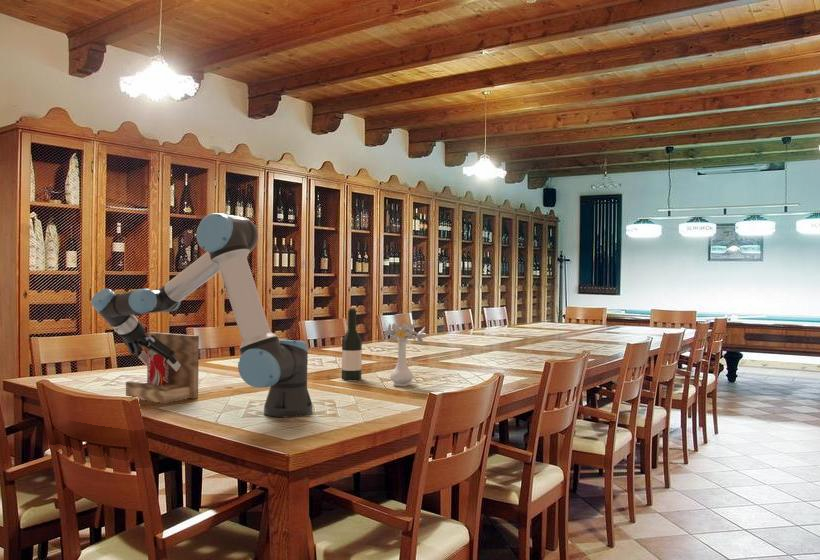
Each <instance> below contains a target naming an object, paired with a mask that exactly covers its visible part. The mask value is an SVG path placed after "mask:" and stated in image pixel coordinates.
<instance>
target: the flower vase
mask: <svg viewBox="0 0 820 560" xmlns="http://www.w3.org/2000/svg"><path fill="white" fill-rule="evenodd" d="M414 329H415V324H406V323H405V322H403V323H402V325H401V326H398V325H396V323H392V324H391V323H389V324H388V326H387V329H386V330H385V331H384V332H383V337H381V340H384V339H385V338H386V337H388V336H389V341H390V342H392V341H394V339H396V340H397V350H398V352H397V362H396V365H395V368H394V369H393V370H392V371H391V372H390V374H389V375H390V376H389V378H390V380H391V382H393V385H394V386H396V387H407V386H409V385H410V383H411V382H412V381H413V380H414V374H413V372H412V371H411V369H409V367H408V364H407V355H406V353H407V352H406V350H407V342H408V339H409V340H411V339H413V340H414V341H416V340H417V344H419V343H420V345H421V346H423V344H424V338H426V337H427V333H425V331H426V326H424V327H423V328H422V329H421V330H419V332H417V331H415V330H414ZM415 336H416V337H415Z"/></svg>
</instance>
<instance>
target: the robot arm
mask: <svg viewBox="0 0 820 560" xmlns="http://www.w3.org/2000/svg"><path fill="white" fill-rule="evenodd" d="M258 231H259V230H258V229H257V226H256V225H255V223H254V222H253V221H252V220H250V219H249V218H247V217H245V216H237V215H232V214H227V213H223V212H220V213H218V212H215V213H209V214H208V215H206V216H204V217H203V218H202V219H201V221H200V222H199V224H198V226H197V229H196V235H195V236H196V241H197V244H198V246H199V247H200V249H202V250H204V251H205V253H204V254H202V255H201V256H200V257H198V258H197V259H196V260H195V261H193V262H192V263H190V265H188V266H187V267H186V268H184V269H183V270H181V271H180V272H179V273H178V274H176V276H174V277H173V278H171V279H170V280H169V281H168V282H166V283H165V284H164V285H163V286H161V287H160V288H158V289H150V288H138V289H135V290H131V291H127V292H121V293H117V294H116V293H115V292H114V291H113V290H112V289H110V288H102V289H100V290H99V291H97V292H96V293H95V294H94V295H93V296H92V298H91V300H90V303H91V306H92V308H94V310H95V311H96V312H97V314H99V315H100V316H101V317H102V318H103V319H104V320H105V322H107V324H108V325H110V327H111V328H113V330H114V332H115V333H117V334H118V335H119V336H120V337H121V338H122V340H123V341H124V343H125V344H126V345H125V346H127V349H128V352H129V353H130V354H131V356H132V355H135V357H138V358H139V360H141V362H142V363H143V364H144V365H145V366H146V367H147V361H148V355H147V352H146V351H145V350H144V349H143V348H145V349H146V350H150V349H151V350H152V351H154V352H156V353H157V354H159V355H161V356H162V357H164V358H166V359H165V361H167V363H168V364H169V365H170V366H171V367H172V368H173V369H174V370H175V371H178V369H179V368H180V367H181V364H180V363H179V362H178V361H177V360H176V359H175V358H174V356H173V355H174V353H175V352H174V351H173V350H171V349H170V348H169V347H167V346H166V345H164V344H163V343H162V342H160V341H159V340H158V339H157V338H156V337H155V336H154V335H151V336H150V337H149V336H148V334H146V333H145V331H146V327H145V326H144V325H143V323H141V321H140V320H138V318H137V317H136V316H135V315H140V314H141V315H142V314H153V313H154V314H155V313H170V312H173V311H176V310H177V309H179V308H180V305H181V304H182V301H183V300H184V299H185V298H187V297H188V296H190V295H191V294H192V293H193V292H195V291H197V289H198V288H199V287H202V285H204V284H205V283H206V282H208V281H209V280H210V279H212V278H213V277H214V276H216V275H217V274H218V273H220V275H221V278H222V282H223V284H224V285H223V286H224V287H225V290H226V293H227V296H228V299H229V300H228V301H229V303H230V305H231V309H232V312H233V315H234V319H235V321H236V325H237V327H238V331H239V333H240V338H241V341H242V342H241V344H240V346H239V352H240V357H239V361H238V363H237V368H238V373H239V375H240V378H241V379H242V381H244V382H245V383H246V384H247V385H249V386H250V387H252V388H256V389H261V388H269V390H268V392H267V396H266V399H265V403H264V405H263V414H264V415H266V416H270V417H276V418H292V417H293V418H294V417H295V418H296V417H302V416H303V417H304V416H308V415H310V414H312V413H313V403H312V400H311V397H310V393H309V390H308V356H309V355H308V354H309V351H308V344H307V341H304V340H296V339H295V340H294V339H292V340H291V339H279V336H278V335H277V334H275V333H273V332H272V331H271V329H270V326H269V322H268V320H267V317H266V313H265V310H264V307H263V304H262V302H261V301H262V300H261V298H260V295H259V292H258V289H257V286H256V283H255V280H254V277H253V274H252V270H251V267H250V264H249V261H248V256H249V254H250V253H251V252H252V251H253V250H254V249H255V247H256V245H257V244H258V241H259V240H258V239H259V232H258ZM149 344H150V346H148V345H149Z"/></svg>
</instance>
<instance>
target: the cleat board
mask: <svg viewBox="0 0 820 560" xmlns="http://www.w3.org/2000/svg"><path fill="white" fill-rule="evenodd" d="M151 335H154V336H155V337H156V338H157V339H158V340H159V341H160V342H162V343H163V344H164V345H166V346H167V347H169V348H170V349H171V350H173V351H174V352H175V353H174V355H173V356H174V358H175V359H176V360H177V361H178V362H179V363H180V364H181V367H180V368H179V369H178V371H175V370H174V369H173V368H172V367H171V366H170V365H169V381H168V384H167V385H166V386H161V385H153V384H148V382H147V381H146V382H144V383H143V382H138V381H130V380H129V381H125V397H126V396H132V397H138V398H139V400H140V399H141V400H140V401H145V400H147V401H146V402H152V401H153V403H158V402H160V403H159V404H169V402H170V403H174V402H173V401H175V402H179V400H180V401H184V400H183V399H185V400H188V399H187V398H193V399H192V400H195V399H194V398H197V399H199V357H200V356H199V350H200V346H199V344H200V343H199V342H200V340H199V339H200V336H199V335H197V334H196V335H194V334H182V333H166V332H154V331H151V332H147V336H149V337H150V336H151ZM148 346H150V344H149V345H148ZM146 350H147V352H146V353H147V355H148V356H149V355H150V352H154V351H152V350H151V349H150V350H148V349H146Z"/></svg>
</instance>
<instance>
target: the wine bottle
mask: <svg viewBox="0 0 820 560" xmlns="http://www.w3.org/2000/svg"><path fill="white" fill-rule="evenodd" d="M347 311H348V314H347V315H348V316H347V331H346V333H345V335H344V336H343V338H342V340H341V380H342V379H344V380H343V381H345V380H356V381H361V380H362V366H363V365H362V352H363V350H362V349H363V348H362V347H363V345H362V343H363V340H362V338H361V335H360V334H359V332H358V331H357V310H356V308H354V307H349V309H348V310H347ZM360 379H361V380H360Z"/></svg>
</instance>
